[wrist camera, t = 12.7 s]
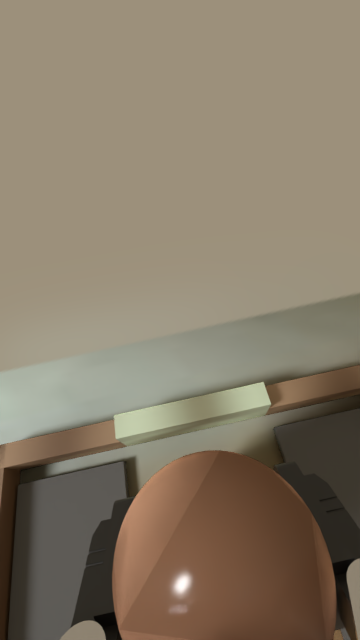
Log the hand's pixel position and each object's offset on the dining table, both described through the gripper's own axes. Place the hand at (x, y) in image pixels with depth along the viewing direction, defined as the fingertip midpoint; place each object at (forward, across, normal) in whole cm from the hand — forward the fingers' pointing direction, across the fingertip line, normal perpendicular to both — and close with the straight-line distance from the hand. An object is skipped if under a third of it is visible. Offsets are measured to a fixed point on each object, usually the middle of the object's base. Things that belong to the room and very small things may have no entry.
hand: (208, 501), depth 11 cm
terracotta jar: (+2, 0, +4) cm, 4 cm away
